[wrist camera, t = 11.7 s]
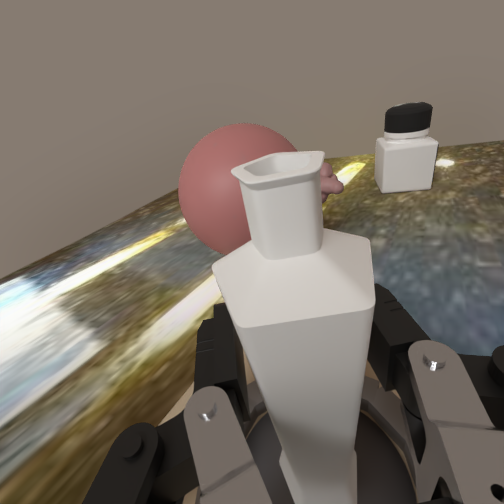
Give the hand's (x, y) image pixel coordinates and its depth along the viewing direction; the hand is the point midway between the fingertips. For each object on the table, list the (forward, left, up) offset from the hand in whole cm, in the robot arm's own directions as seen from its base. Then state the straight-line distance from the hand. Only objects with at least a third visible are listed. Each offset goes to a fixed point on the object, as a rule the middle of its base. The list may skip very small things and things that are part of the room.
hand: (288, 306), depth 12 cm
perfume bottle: (+2, -2, -9) cm, 9 cm away
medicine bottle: (-2, +43, -11) cm, 45 cm away
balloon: (-13, +18, -11) cm, 25 cm away
